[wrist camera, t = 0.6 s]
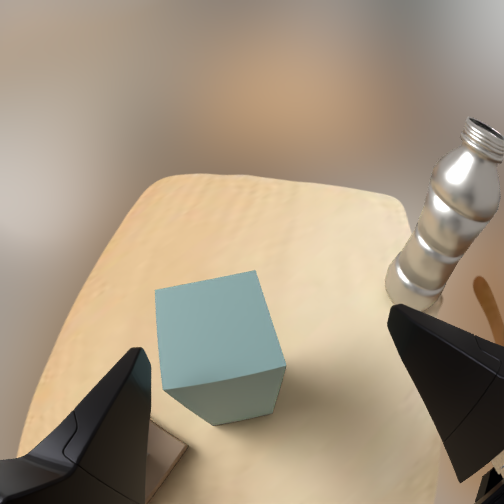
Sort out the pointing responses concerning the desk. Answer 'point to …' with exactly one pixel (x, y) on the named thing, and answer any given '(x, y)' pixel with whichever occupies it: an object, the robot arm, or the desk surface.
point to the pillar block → (219, 348)
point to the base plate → (160, 457)
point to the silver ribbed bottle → (449, 217)
